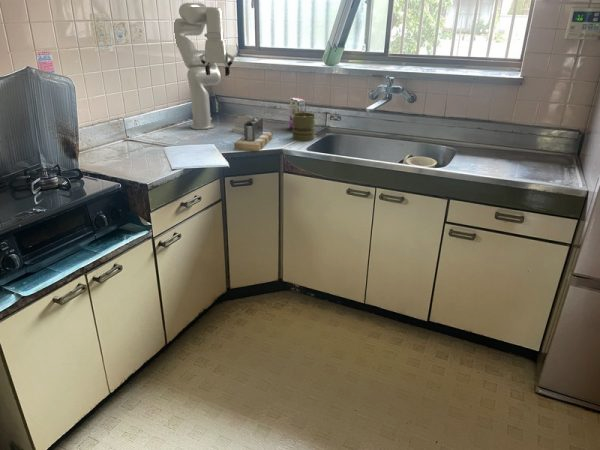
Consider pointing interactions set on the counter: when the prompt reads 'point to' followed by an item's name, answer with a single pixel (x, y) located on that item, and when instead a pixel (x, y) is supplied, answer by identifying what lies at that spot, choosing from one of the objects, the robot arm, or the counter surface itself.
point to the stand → (254, 142)
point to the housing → (253, 129)
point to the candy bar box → (296, 108)
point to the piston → (303, 127)
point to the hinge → (241, 123)
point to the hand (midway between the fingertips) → (217, 75)
